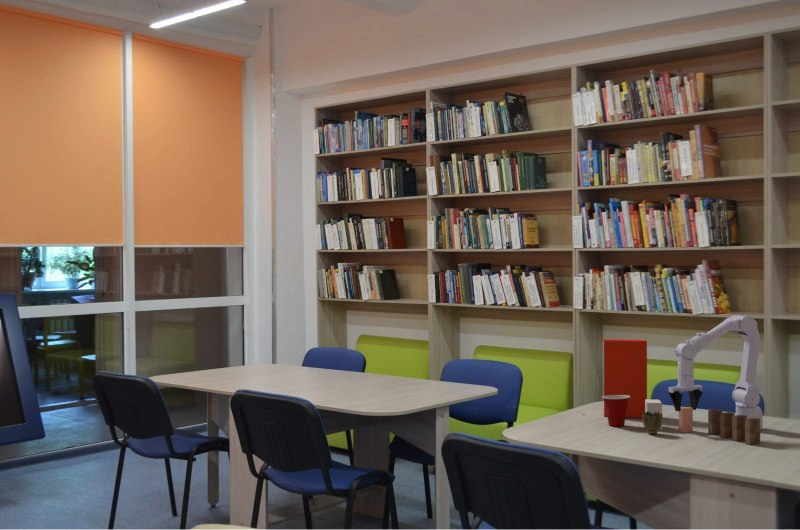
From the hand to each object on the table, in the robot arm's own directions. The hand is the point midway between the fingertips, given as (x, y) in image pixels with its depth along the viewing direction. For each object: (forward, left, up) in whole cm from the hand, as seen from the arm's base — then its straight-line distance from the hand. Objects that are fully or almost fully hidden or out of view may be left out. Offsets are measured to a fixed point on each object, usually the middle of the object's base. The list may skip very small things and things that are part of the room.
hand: (685, 410), depth 309 cm
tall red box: (+2, -34, -8) cm, 35 cm away
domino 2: (-7, +8, -8) cm, 13 cm away
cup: (+15, -1, -8) cm, 17 cm away
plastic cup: (+18, -19, -8) cm, 27 cm away
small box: (+7, -10, -8) cm, 15 cm away
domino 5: (-7, +26, -8) cm, 28 cm away
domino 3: (-7, +14, -8) cm, 18 cm away
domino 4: (-7, +20, -8) cm, 23 cm away
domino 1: (0, 0, -8) cm, 8 cm away
